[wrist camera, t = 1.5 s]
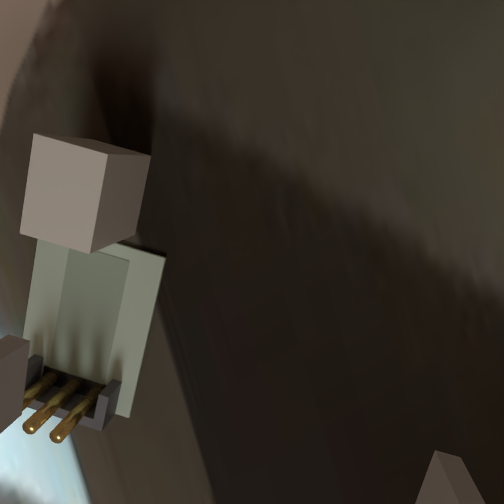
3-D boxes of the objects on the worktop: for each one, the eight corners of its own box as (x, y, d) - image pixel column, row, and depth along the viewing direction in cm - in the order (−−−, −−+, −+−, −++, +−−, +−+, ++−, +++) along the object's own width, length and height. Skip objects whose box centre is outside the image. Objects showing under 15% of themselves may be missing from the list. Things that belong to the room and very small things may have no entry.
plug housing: (92, 139, 31) (33, 133, 25) (151, 155, 31) (108, 154, 24) (79, 218, 33) (19, 233, 26) (134, 234, 32) (89, 254, 26)
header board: (43, 220, 33) (20, 226, 30) (166, 257, 32) (153, 266, 30) (18, 379, 36) (-4, 397, 34) (130, 415, 36) (116, 436, 33)
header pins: (44, 365, 35) (-8, 405, 30) (108, 385, 35) (69, 430, 29) (41, 382, 36) (-10, 425, 30) (105, 402, 35) (65, 450, 30)
